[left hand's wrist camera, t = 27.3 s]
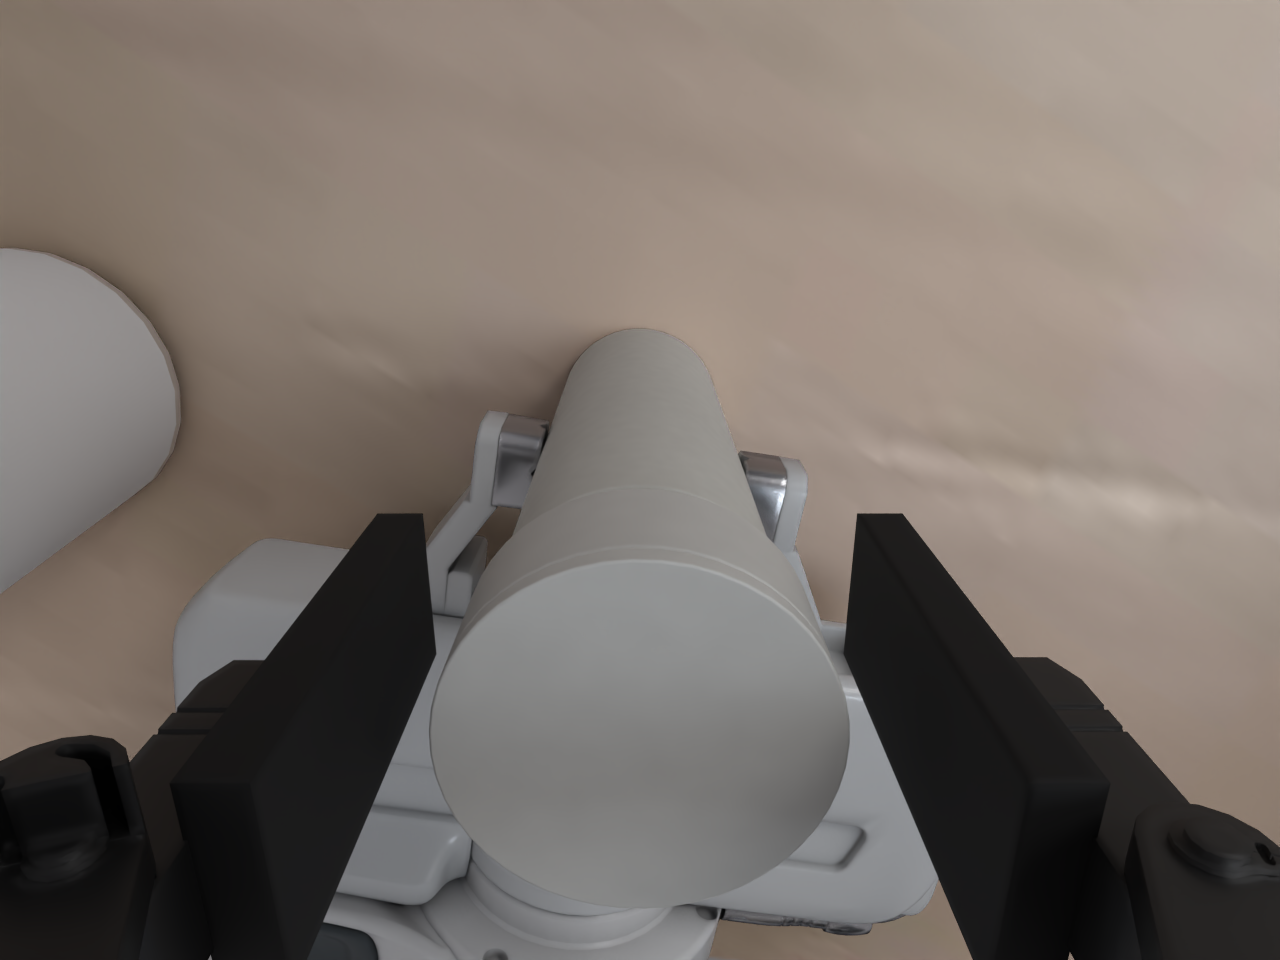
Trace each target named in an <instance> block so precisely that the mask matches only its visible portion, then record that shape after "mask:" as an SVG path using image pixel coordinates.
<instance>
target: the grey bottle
mask: <svg viewBox="0 0 1280 960" xmlns="http://www.w3.org/2000/svg"><path fill="white" fill-rule="evenodd" d="M634 488H635V489H660V490H666V491H672V492H679V493H684V494H687V495H691V496H694V497H698V498H701V499H705V500H708V501H710V502H712V503H715V504H717V505H719V506H721V507H724V508H726V509H728V510H730V511H732V512H733V513H735V514H737V515H738V516H740V517H742V518H743V519H745V520H747V521H748V522H750V523H751V524H752V525H753V526H755V527H756V528H757V529H758V530H760V531H761V532H762V533H764V534H765V535H766V533H765V530H764V527H763V524H762V522H761V519H760V516H759V513H758V510H757V507H756V505H755V502H754V499H753V496H752V493H751V490H750V488H749V485H748V482H747V479H746V476H745V473H744V470H743V468H742V465H741V462H740V459H739V456H738V453H737V451H736V448H735V445H734V442H733V439H732V436H731V434H730V431H729V428H728V425H727V422H726V419H725V417H724V414H723V411H722V408H721V405H720V402H719V399H718V397H717V394H716V391H715V388H714V385H713V382H712V380H711V377H710V375H709V372H708V370H707V368H706V366H705V365H704V363H703V362H702V360H701V359H700V358H699V356H698V355H697V354H696V353H695V352H694V351H693V350H692V349H691V348H690V347H689V346H688V345H686V344H685V343H684V342H682V341H681V340H679V339H677V338H675V337H674V336H671V335H669V334H666V333H664V332H660V331H656V330H651V329H628V330H622V331H619V332H615V333H612V334H610V335H608V336H605V337H603V338H602V339H600V340H598V341H596V342H595V343H594V344H593V345H591V346H590V347H589V348H588V349H587V350H586V351H585V352H584V353H583V354H582V355H581V356H580V357H579V359H578V360H577V361H576V363H575V364H574V366H573V368H572V370H571V371H570V374H569V377H568V379H567V382H566V385H565V388H564V390H563V393H562V396H561V399H560V402H559V405H558V407H557V410H556V413H555V416H554V419H553V422H552V424H551V427H550V430H549V433H548V436H547V439H546V442H545V444H544V447H543V450H542V453H541V456H540V459H539V461H538V464H537V467H536V470H535V473H534V476H533V478H532V481H531V484H530V487H529V490H528V493H527V496H526V498H525V501H524V504H523V507H522V510H521V513H520V515H519V518H518V521H517V524H516V527H515V530H514V532H513V535H515V534H516V533H517V532H518V531H519V530H520V529H521V528H522V527H524V526H525V525H527V524H528V523H530V522H531V521H533V520H534V519H536V518H537V517H539V516H540V515H541V514H543V513H545V512H547V511H549V510H551V509H553V508H555V507H557V506H559V505H561V504H564V503H566V502H569V501H572V500H575V499H578V498H581V497H584V496H587V495H592V494H596V493H601V492H606V491H611V490H622V489H634ZM513 535H512V536H513Z"/></svg>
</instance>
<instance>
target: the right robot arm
mask: <svg viewBox="0 0 1280 960" xmlns="http://www.w3.org/2000/svg"><path fill="white" fill-rule="evenodd" d="M548 430H549V421H548V420H543V419H537V418H531V417H525V416H520V415H514V414H509V413H507V412H498V411H487V413H486V414H485V416H484V418H483V419H482V421H481V422H480V426H479V430H478V434H477V439H476V443H475V452H474V461H473V471H472V480H471V484H470V485H469V486H468V488H467V489H466V490H465V491H464V493H463V494H462V495H461V496H460V498H459V499H458V500H457V501H456V503H455V504H454V505H453V506H452V508H451V509H450V510H449V511H448V513H447V514H446V515H445V516H444V518H443V519H442V520H441V521H440V523H439V524H438V525H437V526H436V528H435V529H434V531H433V532H432V534H431V536H430V538H429V539H428V541H427V543H426V552H427V562H428V572H429V583H430V593H431V603H432V613H433V623H434V633H435V643H436V656H435V659H434V661H433V664H432V666H431V668H430V671H429V673H428V675H427V678H426V680H425V682H424V685H423V687H422V689H421V692H420V694H419V697H418V699H417V701H416V704H415V706H414V708H413V711H412V713H411V715H410V718H409V720H408V723H407V725H406V727H405V730H404V732H403V734H402V737H401V739H400V741H399V744H398V746H397V748H396V751H395V753H394V756H393V758H392V760H391V763H390V765H389V767H388V770H387V772H386V774H385V777H384V779H383V781H382V784H381V786H380V789H379V791H378V793H377V796H376V798H375V800H374V803H373V805H372V807H371V810H370V812H369V815H368V817H367V819H366V822H365V824H364V826H363V829H362V831H361V833H360V836H359V838H358V840H357V843H356V845H355V848H354V850H353V852H352V855H351V857H350V859H349V862H348V864H347V866H346V869H345V871H344V874H343V876H342V878H341V881H340V883H339V885H338V888H337V890H336V892H335V895H334V897H333V899H332V902H331V904H330V907H329V909H328V911H327V914H326V916H325V918H324V921H323V923H322V925H321V928H320V930H319V932H318V935H317V937H316V940H315V942H314V944H313V947H312V949H311V951H310V954H309V956H308V958H307V960H708V958H709V955H710V951H711V947H712V944H713V940H714V936H715V932H716V928H717V925H718V921H719V919H721V920H728V921H735V922H743V923H751V924H759V925H767V926H781V925H782V926H790V925H791V926H799V925H800V926H806V927H808V926H809V927H813V928H822V930H823V931H825V932H828V933H832V934H838V935H863V934H868V933H869V932H870V930H871V928H872V925H873V923H884V922H889V921H893V920H896V919H898V918H901V917H903V916H905V915H910V916H911V915H916V914H918V913H920V912H921V911H922V910H923V909H924V908H925V907H926V905H927V904H928V903H929V901H930V899H931V898H932V895H933V893H934V890H935V887H936V885H937V882H938V879H939V878H938V876H937V874H936V871H935V869H934V866H933V864H932V862H931V859H930V857H929V855H928V852H927V850H926V848H925V845H924V843H923V840H922V838H921V836H920V833H919V831H918V829H917V826H916V824H915V822H914V819H913V817H912V815H911V812H910V810H909V807H908V805H907V803H906V800H905V798H904V796H903V793H902V791H901V789H900V786H899V784H898V782H897V779H896V777H895V774H894V772H893V770H892V767H891V765H890V763H889V760H888V758H887V756H886V753H885V751H884V748H883V746H882V744H881V741H880V739H879V737H878V734H877V732H876V730H875V727H874V725H873V723H872V720H871V718H870V715H869V713H868V711H867V708H866V706H865V704H864V701H863V699H862V697H861V694H860V692H859V689H858V687H857V685H856V682H855V680H854V678H853V675H852V673H851V671H850V668H849V666H848V664H847V661H846V659H845V656H844V643H845V633H846V623H839V622H833V621H826V620H820V617H819V614H818V611H817V608H816V605H815V602H814V599H813V596H812V593H811V590H810V587H809V584H808V581H807V578H806V575H805V572H804V569H803V566H802V563H801V560H800V557H799V554H798V551H797V549H796V546H795V541H796V537H797V533H798V529H799V525H800V521H801V517H802V513H803V509H804V505H805V501H806V497H807V491H808V475H807V473H806V471H805V469H804V467H803V466H802V464H801V462H800V460H798V459H792V458H785V457H779V456H773V455H766V454H759V453H753V452H746V451H740V452H739V453H738V456H739V459H740V462H741V465H742V468H743V470H744V473H745V476H746V479H747V482H748V485H749V488H750V490H751V493H752V496H753V499H754V502H755V505H756V507H757V510H758V513H759V516H760V519H761V522H762V524H763V527H764V530H765V533H766V536H767V537H768V538H769V539H770V540H771V541H772V542H773V543H774V544H775V545H776V546H777V547H778V549H779V550H780V551H781V552H782V553H783V555H784V556H785V557H786V559H787V560H788V562H789V563H790V564H791V566H792V567H793V568H794V570H795V572H796V574H797V576H798V578H799V580H800V582H801V584H802V586H803V588H804V590H805V593H806V595H807V598H808V600H809V603H810V605H811V608H812V610H813V613H814V615H815V618H816V620H817V623H818V625H819V628H820V630H821V633H822V636H823V638H824V641H825V643H826V646H827V648H828V651H829V653H830V656H831V658H832V661H833V663H834V666H835V668H836V671H837V673H838V676H839V679H840V682H841V685H842V688H843V691H844V694H845V697H846V702H847V708H848V714H849V721H850V744H849V751H848V758H847V764H846V768H845V772H844V775H843V778H842V781H841V784H840V788H839V790H838V792H837V794H836V796H835V798H834V800H833V802H832V805H831V807H830V809H829V810H828V812H827V813H826V815H825V816H824V818H823V819H822V821H821V822H820V824H819V825H818V827H817V828H816V829H815V831H814V832H813V833H812V834H811V835H810V836H809V837H808V838H807V840H806V841H805V842H804V843H803V844H802V845H801V846H800V847H799V848H798V849H797V850H796V851H795V852H793V853H792V854H791V855H790V856H789V857H788V858H787V859H785V860H784V861H783V862H782V863H780V864H779V865H777V866H776V867H774V868H773V869H772V870H770V871H769V872H767V873H766V874H764V875H763V876H761V877H759V878H757V879H755V880H753V881H751V882H750V883H748V884H746V885H744V886H742V887H740V888H737V889H735V890H732V891H730V892H727V893H725V894H722V895H719V896H716V897H713V898H709V899H706V900H702V901H698V902H695V903H689V904H683V905H678V906H672V907H661V908H647V909H641V908H616V907H609V906H601V905H594V904H590V903H585V902H581V901H577V900H572V899H569V898H566V897H563V896H560V895H557V894H554V893H551V892H549V891H546V890H544V889H542V888H540V887H537V886H535V885H533V884H531V883H529V882H527V881H525V880H523V879H522V878H520V877H518V876H517V875H515V874H513V873H512V872H510V871H508V870H507V869H505V868H504V867H502V866H501V865H500V864H499V863H497V862H496V861H495V860H494V859H492V858H491V857H490V856H488V855H487V854H486V853H485V852H484V851H483V850H482V849H481V848H480V847H479V846H478V845H477V844H476V843H475V842H474V841H473V840H472V839H471V838H470V837H469V836H468V835H467V833H466V832H465V831H464V829H463V828H462V827H461V825H460V824H459V823H458V821H457V820H456V819H455V817H454V815H453V814H452V812H451V810H450V808H449V807H448V805H447V803H446V801H445V799H444V797H443V795H442V792H441V790H440V787H439V785H438V782H437V779H436V777H435V772H434V768H433V763H432V759H431V754H430V741H429V723H430V713H431V706H432V702H433V698H434V694H435V690H436V687H437V683H438V681H439V678H440V676H441V673H442V671H443V669H444V666H445V663H446V661H447V658H448V656H449V653H450V651H451V648H452V646H453V643H454V640H455V638H456V635H457V633H458V630H459V628H460V625H461V623H462V620H463V618H464V615H465V613H466V610H467V608H468V605H469V603H470V600H471V598H472V595H473V593H474V591H475V588H476V586H477V584H478V581H479V579H480V577H481V575H482V574H483V572H484V571H485V566H486V556H487V545H488V541H487V539H486V538H485V537H483V536H477V535H475V534H476V533H477V532H478V531H479V529H480V528H481V527H482V526H483V524H484V523H485V522H486V521H487V519H488V518H489V517H490V516H491V514H492V513H493V512H494V511H495V509H496V508H497V506H503V507H510V508H518V509H522V507H523V504H524V501H525V498H526V496H527V493H528V490H529V487H530V484H531V481H532V478H533V476H534V473H535V470H536V467H537V464H538V461H539V459H540V456H541V453H542V450H543V447H544V444H545V442H546V439H547V436H548ZM348 551H349V549H342V548H336V547H329V546H322V545H315V544H309V543H302V542H296V541H290V540H284V539H276V538H267V539H262V540H259V541H256V542H255V543H253V544H252V545H250V546H249V547H247V548H246V549H245V550H244V551H242V552H241V553H240V554H238V555H237V556H236V557H234V558H233V559H232V560H231V561H229V562H228V563H227V564H226V565H224V566H223V567H222V568H221V569H220V570H219V571H217V572H216V573H215V574H214V575H213V576H212V577H211V578H210V579H209V580H208V581H207V582H206V583H205V584H204V585H203V586H202V587H201V588H200V589H199V590H198V592H197V593H196V594H195V595H194V596H193V597H192V598H191V600H190V601H189V602H188V604H187V605H186V606H185V608H184V610H183V611H182V613H181V615H180V617H179V619H178V621H177V624H176V627H175V632H174V640H173V681H174V695H175V708H176V712H177V707H178V706H179V705H180V704H181V702H182V701H183V700H184V699H185V698H186V697H187V696H188V694H189V693H190V692H191V691H192V690H193V689H194V687H195V686H196V685H197V684H198V683H199V682H200V681H202V680H203V679H205V678H206V677H208V676H209V675H211V674H213V673H214V672H216V671H217V670H219V669H220V668H222V667H223V666H225V665H227V664H228V663H230V662H231V661H233V660H265V659H266V657H267V656H268V655H269V654H270V652H271V651H272V650H273V648H274V647H275V646H276V645H277V643H278V642H279V641H280V639H281V638H282V637H283V635H284V634H285V633H286V632H287V630H288V629H289V628H290V626H291V625H292V624H293V623H294V621H295V620H296V619H297V617H298V616H299V615H300V613H301V612H302V611H303V610H304V608H305V607H306V606H307V604H308V603H309V602H310V601H311V599H312V598H313V597H314V595H315V594H316V593H317V591H318V590H319V589H320V588H321V586H322V585H323V584H324V582H325V581H326V580H327V578H328V577H329V576H330V575H331V573H332V572H333V571H334V569H335V568H336V567H337V566H338V564H339V563H340V562H341V560H342V559H343V558H344V556H345V555H346V554H347V553H348Z"/></svg>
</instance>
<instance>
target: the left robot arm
mask: <svg viewBox="0 0 1280 960" xmlns="http://www.w3.org/2000/svg"><path fill="white" fill-rule="evenodd" d="M435 656H436V643H435V633H434V623H433V613H432V603H431V593H430V583H429V572H428V562H427V552H426V542H425V532H424V522H423V514H377V515H376V516H375V518H374V519H373V520H372V522H371V523H370V524H369V525H368V527H367V528H366V529H365V531H364V532H363V533H362V534H361V536H360V537H359V538H358V540H357V541H356V542H355V544H354V545H353V546H352V547H351V549H350V550H349V551H348V553H347V554H346V555H345V556H344V558H343V559H342V560H341V562H340V563H339V564H338V566H337V567H336V568H335V569H334V571H333V572H332V573H331V575H330V576H329V577H328V578H327V580H326V581H325V582H324V584H323V585H322V586H321V588H320V589H319V590H318V591H317V593H316V594H315V595H314V597H313V598H312V599H311V601H310V602H309V603H308V604H307V606H306V607H305V608H304V610H303V611H302V612H301V613H300V615H299V616H298V617H297V619H296V620H295V621H294V623H293V624H292V625H291V626H290V628H289V629H288V630H287V632H286V633H285V634H284V635H283V637H282V638H281V639H280V641H279V642H278V643H277V645H276V646H275V647H274V648H273V650H272V651H271V652H270V654H269V655H268V656H267V657H266V659H265V660H233V661H231V662H230V663H228V664H227V665H225V666H223V667H222V668H220V669H219V670H217V671H216V672H214V673H213V674H211V675H209V676H208V677H206V678H205V679H203V680H202V681H200V682H199V683H198V684H197V685H196V686H195V687H194V689H193V690H192V691H191V692H190V693H189V694H188V696H187V697H186V698H185V699H184V700H183V701H182V702H181V704H180V705H179V706H178V707H177V712H176V713H172V714H171V715H170V716H169V717H168V719H167V720H166V721H165V722H164V723H163V724H162V726H161V727H160V728H159V729H158V734H157V735H153V736H152V737H151V738H150V739H149V740H148V742H147V743H146V744H145V745H144V746H143V747H142V749H141V750H140V751H139V752H138V753H137V754H136V755H135V757H134V758H133V759H132V760H131V761H130V762H129V759H128V755H127V751H126V748H125V747H123V746H122V745H121V744H119V743H118V742H117V741H115V740H114V739H112V738H106V737H99V736H93V735H87V736H77V737H67V738H60V739H57V740H53V741H50V742H46V743H43V744H40V745H36V746H33V747H29V748H27V749H25V750H23V751H21V752H19V753H17V754H14V755H12V756H10V757H8V758H6V759H4V760H2V761H0V960H208V958H209V957H210V955H211V957H212V960H307V958H308V956H309V954H310V951H311V949H312V947H313V944H314V942H315V940H316V937H317V935H318V932H319V930H320V928H321V925H322V923H323V921H324V918H325V916H326V914H327V911H328V909H329V907H330V904H331V902H332V899H333V897H334V895H335V892H336V890H337V888H338V885H339V883H340V881H341V878H342V876H343V874H344V871H345V869H346V866H347V864H348V862H349V859H350V857H351V855H352V852H353V850H354V848H355V845H356V843H357V840H358V838H359V836H360V833H361V831H362V829H363V826H364V824H365V822H366V819H367V817H368V815H369V812H370V810H371V807H372V805H373V803H374V800H375V798H376V796H377V793H378V791H379V789H380V786H381V784H382V781H383V779H384V777H385V774H386V772H387V770H388V767H389V765H390V763H391V760H392V758H393V756H394V753H395V751H396V748H397V746H398V744H399V741H400V739H401V737H402V734H403V732H404V730H405V727H406V725H407V723H408V720H409V718H410V715H411V713H412V711H413V708H414V706H415V704H416V701H417V699H418V697H419V694H420V692H421V689H422V687H423V685H424V682H425V680H426V678H427V675H428V673H429V671H430V668H431V666H432V664H433V661H434V659H435ZM844 656H845V659H846V661H847V664H848V666H849V668H850V671H851V673H852V675H853V678H854V680H855V682H856V685H857V687H858V689H859V692H860V694H861V697H862V699H863V701H864V704H865V706H866V708H867V711H868V713H869V715H870V718H871V720H872V723H873V725H874V727H875V730H876V732H877V734H878V737H879V739H880V741H881V744H882V746H883V748H884V751H885V753H886V756H887V758H888V760H889V763H890V765H891V767H892V770H893V772H894V774H895V777H896V779H897V782H898V784H899V786H900V789H901V791H902V793H903V796H904V798H905V800H906V803H907V805H908V807H909V810H910V812H911V815H912V817H913V819H914V822H915V824H916V826H917V829H918V831H919V833H920V836H921V838H922V840H923V843H924V845H925V848H926V850H927V852H928V855H929V857H930V859H931V862H932V864H933V866H934V869H935V871H936V874H937V876H938V878H939V881H940V883H941V885H942V888H943V890H944V892H945V895H946V897H947V899H948V902H949V904H950V907H951V909H952V911H953V914H954V916H955V918H956V921H957V923H958V925H959V928H960V930H961V932H962V935H963V937H964V940H965V942H966V944H967V947H968V949H969V951H970V954H971V956H972V958H973V960H1068V957H1069V953H1070V952H1071V954H1072V956H1073V958H1074V960H1280V847H1279V846H1277V845H1276V844H1275V843H1274V842H1272V841H1271V840H1270V839H1269V838H1267V837H1266V836H1265V835H1264V834H1263V833H1261V832H1260V831H1259V830H1257V829H1255V828H1253V827H1251V826H1249V825H1248V824H1246V823H1244V822H1242V821H1240V820H1238V819H1236V818H1234V817H1233V816H1231V815H1228V814H1225V813H1222V812H1219V811H1216V810H1213V809H1210V808H1207V807H1204V806H1201V805H1196V804H1190V803H1189V802H1188V801H1187V800H1186V799H1185V797H1184V796H1183V795H1182V794H1181V793H1180V792H1179V791H1178V789H1177V788H1176V787H1175V786H1174V785H1173V784H1172V782H1171V781H1170V780H1169V779H1168V778H1167V777H1166V776H1165V774H1164V773H1163V772H1162V771H1161V770H1160V769H1159V768H1158V766H1157V765H1156V764H1155V763H1154V762H1153V761H1152V760H1151V758H1150V757H1149V756H1148V755H1147V754H1146V753H1145V752H1144V750H1143V749H1142V748H1141V747H1140V746H1139V745H1138V744H1137V742H1136V741H1135V740H1134V739H1133V738H1132V737H1131V736H1130V734H1129V733H1128V732H1123V730H1122V725H1121V724H1120V723H1119V722H1118V721H1117V720H1116V718H1115V717H1114V716H1113V715H1112V714H1111V713H1110V712H1109V710H1104V705H1103V703H1102V702H1101V701H1100V700H1099V699H1098V698H1097V697H1096V695H1095V694H1094V693H1093V692H1092V691H1091V690H1090V689H1089V687H1088V686H1087V685H1086V684H1085V683H1084V682H1083V681H1082V679H1080V678H1079V677H1077V676H1075V675H1074V674H1072V673H1071V672H1069V671H1068V670H1066V669H1064V668H1063V667H1061V666H1060V665H1058V664H1057V663H1055V662H1053V661H1052V660H1050V659H1049V658H1047V657H1013V656H1012V655H1011V654H1010V652H1009V651H1008V650H1007V648H1006V647H1005V646H1004V645H1003V643H1002V642H1001V641H1000V639H999V638H998V637H997V635H996V634H995V633H994V632H993V630H992V629H991V628H990V626H989V625H988V624H987V623H986V621H985V620H984V619H983V617H982V616H981V615H980V613H979V612H978V611H977V610H976V608H975V607H974V606H973V604H972V603H971V602H970V601H969V599H968V598H967V597H966V595H965V594H964V593H963V591H962V590H961V589H960V588H959V586H958V585H957V584H956V582H955V581H954V580H953V578H952V577H951V576H950V575H949V573H948V572H947V571H946V569H945V568H944V567H943V566H942V564H941V563H940V562H939V560H938V559H937V558H936V556H935V555H934V554H933V553H932V551H931V550H930V549H929V547H928V546H927V545H926V544H925V542H924V541H923V540H922V538H921V537H920V536H919V534H918V533H917V532H916V531H915V529H914V528H913V527H912V525H911V524H910V523H909V522H908V520H907V519H906V518H905V516H904V515H903V514H857V522H856V532H855V542H854V552H853V562H852V572H851V583H850V593H849V603H848V613H847V623H846V633H845V643H844Z"/></svg>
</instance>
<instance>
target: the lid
mask: <svg viewBox="0 0 1280 960" xmlns="http://www.w3.org/2000/svg"><path fill="white" fill-rule="evenodd" d="M429 741H430V754H431V759H432V763H433V768H434V772H435V777H436V779H437V782H438V785H439V787H440V790H441V792H442V795H443V797H444V799H445V801H446V803H447V805H448V807H449V808H450V810H451V812H452V814H453V815H454V817H455V819H456V820H457V821H458V823H459V824H460V825H461V827H462V828H463V829H464V831H465V832H466V833H467V835H468V836H469V837H470V838H471V839H472V840H473V841H474V842H475V843H476V844H477V845H478V846H479V847H480V848H481V849H482V850H483V851H484V852H485V853H486V854H487V855H488V856H490V857H491V858H492V859H494V860H495V861H496V862H497V863H499V864H500V865H501V866H502V867H504V868H505V869H507V870H508V871H510V872H512V873H513V874H515V875H517V876H518V877H520V878H522V879H523V880H525V881H527V882H529V883H531V884H533V885H535V886H537V887H540V888H542V889H544V890H546V891H549V892H551V893H554V894H557V895H560V896H563V897H566V898H569V899H572V900H577V901H581V902H585V903H590V904H594V905H601V906H609V907H616V908H641V909H647V908H661V907H672V906H678V905H683V904H689V903H695V902H698V901H702V900H706V899H709V898H713V897H716V896H719V895H722V894H725V893H727V892H730V891H732V890H735V889H737V888H740V887H742V886H744V885H746V884H748V883H750V882H751V881H753V880H755V879H757V878H759V877H761V876H763V875H764V874H766V873H767V872H769V871H770V870H772V869H773V868H774V867H776V866H777V865H779V864H780V863H782V862H783V861H784V860H785V859H787V858H788V857H789V856H790V855H791V854H792V853H793V852H795V851H796V850H797V849H798V848H799V847H800V846H801V845H802V844H803V843H804V842H805V841H806V840H807V838H808V837H809V836H810V835H811V834H812V833H813V832H814V831H815V829H816V828H817V827H818V825H819V824H820V822H821V821H822V819H823V818H824V816H825V815H826V813H827V812H828V810H829V809H830V807H831V805H832V802H833V800H834V798H835V796H836V794H837V792H838V790H839V788H840V784H841V781H842V778H843V775H844V772H845V768H846V764H847V758H848V751H849V744H850V721H849V714H848V708H847V702H846V697H845V694H844V691H843V688H842V685H841V682H840V679H839V676H838V673H837V671H836V668H835V666H834V663H833V661H832V658H831V656H830V653H829V651H828V648H827V646H826V643H825V641H824V638H823V636H822V633H821V630H820V628H819V625H818V623H817V620H816V618H815V615H814V613H813V610H812V608H811V605H810V603H809V600H808V598H807V595H806V593H805V590H804V588H803V586H802V584H801V582H800V580H799V578H798V576H797V574H796V572H795V570H794V568H793V567H792V566H791V564H790V563H789V562H788V560H787V559H786V557H785V556H784V555H783V553H782V552H781V551H780V550H779V549H778V547H777V546H776V545H775V544H774V543H773V542H772V541H771V540H770V539H769V538H768V537H767V536H766V535H765V534H764V533H762V532H761V531H760V530H758V529H757V528H756V527H755V526H753V525H752V524H751V523H750V522H748V521H747V520H745V519H743V518H742V517H740V516H738V515H737V514H735V513H733V512H732V511H730V510H728V509H726V508H724V507H721V506H719V505H717V504H715V503H712V502H710V501H708V500H705V499H701V498H698V497H694V496H691V495H687V494H684V493H679V492H672V491H666V490H660V489H635V488H634V489H622V490H611V491H606V492H601V493H596V494H592V495H587V496H584V497H581V498H578V499H575V500H572V501H569V502H566V503H564V504H561V505H559V506H557V507H555V508H553V509H551V510H549V511H547V512H545V513H543V514H541V515H540V516H539V517H537V518H536V519H534V520H533V521H531V522H530V523H528V524H527V525H525V526H524V527H522V528H521V529H520V530H519V531H518V532H517V533H516V534H515V535H513V536H512V537H511V538H510V539H509V540H508V541H507V542H506V543H505V544H504V545H503V546H502V547H501V549H500V550H499V551H498V552H497V553H496V555H495V556H494V557H493V558H492V559H491V561H490V563H489V564H488V566H487V567H486V569H485V571H484V572H483V574H482V575H481V577H480V579H479V581H478V584H477V586H476V588H475V591H474V593H473V595H472V598H471V600H470V603H469V605H468V608H467V610H466V613H465V615H464V618H463V620H462V623H461V625H460V628H459V630H458V633H457V635H456V638H455V640H454V643H453V646H452V648H451V651H450V653H449V656H448V658H447V661H446V663H445V666H444V669H443V671H442V673H441V676H440V678H439V681H438V683H437V687H436V690H435V694H434V698H433V702H432V706H431V713H430V723H429Z"/></svg>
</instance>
